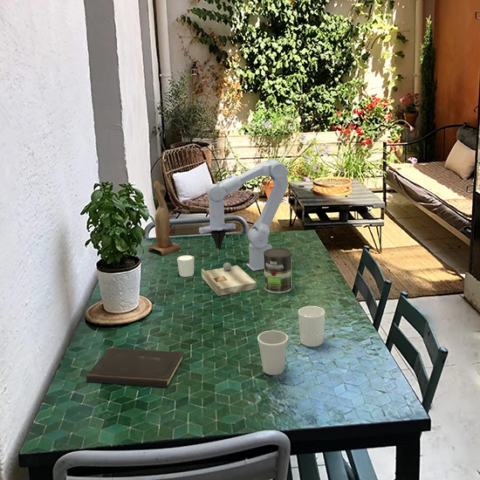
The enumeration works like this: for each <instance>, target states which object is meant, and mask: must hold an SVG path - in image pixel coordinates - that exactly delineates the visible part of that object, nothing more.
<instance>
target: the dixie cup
mask: <svg viewBox="0 0 480 480" xmlns="http://www.w3.org/2000/svg"><path fill="white" fill-rule="evenodd" d="M288 340H289V336H288V334H287V333H286V332H284V331H280V330H265V331H262V332H261V333H259V335H258V336H257V342H258V346H259V352H260V358H261V366H262V370H263V373H264V374H267V375H271V376H277V375H281V374H282V373H283V372H285V371H284V369H285V361H286V354H287V346H288Z"/></svg>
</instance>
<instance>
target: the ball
mask: <svg viewBox="0 0 480 480" xmlns="http://www.w3.org/2000/svg"><path fill="white" fill-rule="evenodd" d="M220 281H226V280H225V278H223V277H219V278H218V280H217V282H220Z"/></svg>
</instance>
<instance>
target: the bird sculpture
mask: <svg viewBox="0 0 480 480" xmlns="http://www.w3.org/2000/svg"><path fill="white" fill-rule="evenodd" d="M159 181H160V180H155V182H154V184H153V189H154V192H155V195H156V198H157V201H158V207H157V209H156V211H155V213H154V232H155V239H156V240H155V241H156V244H155V245H154V244H153V245H152V246H151V245H150V246H148V247H147V251H148V250H149V251H152V250H156V251H159V252H160V254H161V255H162V256H165V255H168V254H171V253H175V252H178V251H180V250H181V249H182V246H181V245H180V244H178V243H175V242H172V240H171V237H170V232H171V224H170V223H171V220H170V213H169V209H168V206H167V202H166V200H165V198H164V197H163V194H162V192H166V188H165V185H163V184H162V183H161V182H159ZM151 249H152V250H151Z"/></svg>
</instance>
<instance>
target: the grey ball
mask: <svg viewBox="0 0 480 480" xmlns="http://www.w3.org/2000/svg"><path fill="white" fill-rule="evenodd" d="M231 266H232V264H231V263H230V262H224V263H223V265H222V268H224V270H226V271H228V270H230V269H231Z"/></svg>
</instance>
